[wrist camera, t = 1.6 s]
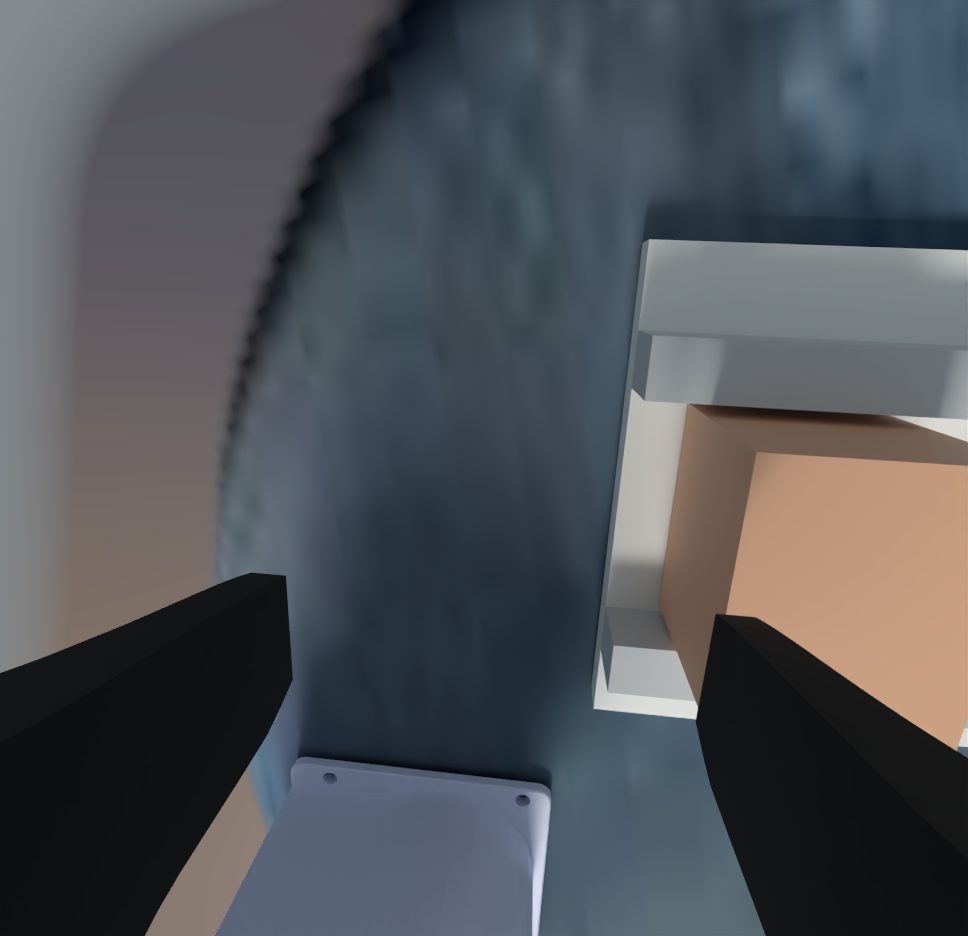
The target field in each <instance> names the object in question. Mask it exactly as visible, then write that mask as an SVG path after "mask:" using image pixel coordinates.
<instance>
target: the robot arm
mask: <svg viewBox="0 0 968 936" xmlns="http://www.w3.org/2000/svg"><path fill="white" fill-rule="evenodd" d="M292 680H293V676H292V661H291V646H290V631H289V616H288V601H287V586H286V576H283V575H271V574H260V573H249V574H245V575H242V576H239V577H236V578H233V579H231V580H228V581H225V582H223V583H220V584H218V585H216V586H213V587H211V588H208V589H206V590H204V591H201V592H199V593H197V594H194V595H192V596H190V597H188V598H185V599H183V600H181V601H178V602H176V603H174V604H172V605H169V606H167V607H165V608H162V609H160V610H158V611H155V612H153V613H151V614H149V615H146V616H144V617H142V618H140V619H137V620H135V621H133V622H130V623H128V624H125V625H123V626H121V627H118V628H116V629H113V630H111V631H108V632H106V633H103V634H101V635H98V636H96V637H93V638H91V639H88V640H86V641H83V642H81V643H78V644H76V645H74V646H71V647H69V648H66V649H64V650H61V651H59V652H56V653H54V654H51V655H49V656H46V657H43V658H41V659H38V660H35V661H33V662H30V663H27V664H24V665H22V666H19V667H16V668H13V669H10V670H8V671H5V672H2V673H0V936H145V934H146V932H147V930H148V928H149V927H150V925H151V923H152V921H153V919H154V917H155V915H156V913H157V911H158V909H159V908H160V906H161V904H162V903H163V901H164V899H165V898H166V896H167V894H168V892H169V891H170V889H171V887H172V886H173V884H174V882H175V881H176V879H177V877H178V875H179V873H180V872H181V871H182V869H183V867H184V866H185V864H186V863H187V861H188V860H189V858H190V856H191V855H192V853H193V852H194V850H195V849H196V847H197V845H198V844H199V842H200V841H201V839H202V838H203V836H204V834H205V833H206V831H207V830H208V828H209V827H210V825H211V823H212V822H213V820H214V819H215V817H216V816H217V814H218V812H219V811H220V809H221V808H222V806H223V805H224V803H225V801H226V800H227V798H228V797H229V795H230V794H231V792H232V790H233V789H234V787H235V786H236V784H237V783H238V781H239V779H240V778H241V776H242V775H243V773H244V771H245V770H246V768H247V767H248V765H249V763H250V762H251V760H252V759H253V757H254V755H255V754H256V752H257V751H258V749H259V747H260V746H261V744H262V742H263V741H264V739H265V738H266V736H267V734H268V732H269V730H270V728H271V726H272V724H273V722H274V720H275V718H276V715H277V713H278V711H279V709H280V707H281V705H282V703H283V700H284V698H285V696H286V694H287V691H288V689H289V687H290V685H291V682H292ZM696 725H697V730H698V734H699V739H700V743H701V748H702V752H703V757H704V761H705V765H706V769H707V773H708V777H709V781H710V785H711V788H712V791H713V794H714V796H715V799H716V802H717V805H718V808H719V810H720V813H721V816H722V819H723V821H724V824H725V827H726V830H727V832H728V835H729V838H730V841H731V843H732V846H733V849H734V851H735V854H736V857H737V860H738V862H739V865H740V868H741V870H742V873H743V876H744V878H745V881H746V884H747V886H748V889H749V892H750V895H751V897H752V900H753V903H754V905H755V908H756V911H757V913H758V916H759V919H760V921H761V924H762V927H763V930H764V932H765V935H766V936H968V758H967V757H965V756H964V755H962V754H960V753H959V752H957V751H956V750H954V749H953V748H951V747H949V746H948V745H946V744H945V743H943V742H941V741H940V740H938V739H937V738H935V737H934V736H932V735H930V734H929V733H927V732H926V731H924V730H923V729H921V728H919V727H918V726H916V725H915V724H913V723H912V722H910V721H909V720H907V719H906V718H904V717H903V716H901V715H900V714H898V713H897V712H895V711H894V710H892V709H891V708H889V707H888V706H886V705H885V704H883V703H882V702H880V701H879V700H877V699H876V698H874V697H873V696H871V695H870V694H868V693H867V692H865V691H864V690H863V689H861V688H860V687H858V686H857V685H855V684H854V683H853V682H851V681H850V680H848V679H847V678H845V677H844V676H842V675H841V674H840V673H838V672H837V671H835V670H834V669H833V668H831V667H830V666H828V665H827V664H825V663H824V662H823V661H821V660H820V659H818V658H817V657H815V656H814V655H813V654H811V653H810V652H808V651H807V650H806V649H804V648H803V647H801V646H800V645H798V644H797V643H796V642H794V641H793V640H791V639H790V638H788V637H787V636H785V635H784V634H782V633H781V632H779V631H778V630H776V629H775V628H773V627H772V626H770V625H769V624H767V623H765V622H764V621H762V620H760V619H758V618H756V617H748V616H737V615H726V614H715V620H714V625H713V630H712V636H711V641H710V647H709V652H708V657H707V663H706V668H705V674H704V679H703V684H702V690H701V695H700V701H699V706H698V711H697V717H696ZM330 773H333V774H334V775H335V776H334V775H331V774H330ZM291 783H292V787H291V789H290V791H289V792H288V794H287V796H286V798H285V800H284V802H283V804H282V806H281V808H280V810H279V812H278V814H277V816H276V818H275V820H274V822H273V824H272V826H271V828H270V830H269V832H268V833H267V835H266V837H265V839H264V841H263V843H262V845H261V847H260V849H259V851H258V853H257V855H256V857H255V859H254V861H253V863H252V865H251V867H250V869H249V871H248V872H247V874H246V876H245V879H244V880H243V882H242V884H241V886H240V888H239V890H238V892H237V894H236V896H235V898H234V900H233V902H232V904H231V906H230V908H229V910H228V911H227V913H226V916H225V917H224V919H223V921H222V923H221V925H220V927H219V929H218V931H217V933H216V935H215V936H538V933H539V923H540V913H541V902H542V892H543V882H544V872H545V862H546V851H547V841H548V831H549V821H550V811H551V792H550V790H549V789H548V787H546V786H545V785H543V784H539V783H532V782H523V781H514V780H505V779H497V778H488V777H479V776H470V775H461V774H453V773H444V772H435V771H426V770H418V769H409V768H400V767H391V766H382V765H374V764H365V763H356V762H347V761H338V760H330V759H321V758H312V757H301V758H299V759H297V760H296V761H295V763H294V765H293V767H292V769H291ZM519 795H525V796H527V797H520V796H519Z"/></svg>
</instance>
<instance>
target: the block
mask: <svg viewBox="0 0 968 936" xmlns="http://www.w3.org/2000/svg"><path fill="white" fill-rule="evenodd" d="M659 607H660V609H661V612H662V614H663V617H664V620H665V622H666V625H667V628H668V630H669V633H670V636H671V638H672V641H673V643H674V646H675V649H676V651H677V654H678V657H679V659H680V662H681V664H682V667H683V670H684V672H685V675H686V678H687V680H688V683H689V685H690V688H691V691H692V693H693V696H694V699H695V701H696V704H697V707H698V706H699V701H700V695H701V690H702V684H703V679H704V674H705V668H706V663H707V657H708V652H709V647H710V641H711V636H712V630H713V625H714V620H715V614H726V615H737V616H748V617H756V618H758V619H760V620H762V621H764V622H765V623H767V624H769V625H770V626H772V627H773V628H775V629H776V630H778V631H779V632H781V633H782V634H784V635H785V636H787V637H788V638H790V639H791V640H793V641H794V642H796V643H797V644H798V645H800V646H801V647H803V648H804V649H806V650H807V651H808V652H810V653H811V654H813V655H814V656H815V657H817V658H818V659H820V660H821V661H823V662H824V663H825V664H827V665H828V666H830V667H831V668H833V669H834V670H835V671H837V672H838V673H840V674H841V675H842V676H844V677H845V678H847V679H848V680H850V681H851V682H853V683H854V684H855V685H857V686H858V687H860V688H861V689H863V690H864V691H865V692H867V693H868V694H870V695H871V696H873V697H874V698H876V699H877V700H879V701H880V702H882V703H883V704H885V705H886V706H888V707H889V708H891V709H892V710H894V711H895V712H897V713H898V714H900V715H901V716H903V717H904V718H906V719H907V720H909V721H910V722H912V723H913V724H915V725H916V726H918V727H919V728H921V729H923V730H924V731H926V732H927V733H929V734H930V735H932V736H934V737H935V738H937V739H938V740H940V741H941V742H943V743H945V744H946V745H948V746H949V747H951V748H953V749H954V750H956V751H957V748H958V745H959V742H960V739H961V737H962V734H963V731H964V728H965V725H966V722H967V720H968V442H967V441H964V440H961V439H958V438H955V437H952V436H949V435H946V434H943V433H940V432H937V431H934V430H931V429H928V428H925V427H922V426H919V425H916V424H913V423H910V422H907V421H905V420H902V419H899V418H896V417H893V416H890V415H876V414H859V413H842V412H825V411H807V410H790V409H773V408H756V407H738V406H721V405H704V404H688V409H687V416H686V423H685V429H684V436H683V443H682V449H681V456H680V463H679V469H678V476H677V483H676V490H675V496H674V503H673V510H672V516H671V523H670V530H669V537H668V543H667V550H666V557H665V563H664V570H663V577H662V583H661V590H660V597H659Z"/></svg>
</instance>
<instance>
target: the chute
mask: <svg viewBox="0 0 968 936" xmlns="http://www.w3.org/2000/svg"><path fill="white" fill-rule="evenodd" d="M688 404H704V405H721V406H738V407H756V408H773V409H790V410H807V411H825V412H842V413H859V414H876V415H890V416H893V417H896V418H899V419H902V420H905V421H907V422H910V423H913V424H916V425H919V426H922V427H925V428H928V429H931V430H934V431H937V432H940V433H943V434H946V435H949V436H952V437H955V438H958V439H961V440H964V441H967V442H968V250H942V249H914V248H885V247H857V246H828V245H799V244H771V243H742V242H713V241H685V240H656V239H649V240H647V241H645V242H643V243H642V251H641V260H640V268H639V277H638V286H637V294H636V303H635V312H634V320H633V329H632V338H631V346H630V355H629V364H628V372H627V381H626V390H625V398H624V407H623V416H622V424H621V433H620V441H619V450H618V459H617V467H616V476H615V485H614V493H613V502H612V511H611V519H610V528H609V537H608V545H607V554H606V563H605V571H604V580H603V589H602V597H601V606H600V615H599V623H598V632H597V641H596V649H595V658H594V667H593V675H592V684H591V692H592V700H593V708H594V709H601V710H611V711H621V712H631V713H640V714H650V715H660V716H670V717H680V718H689V719H696V717H697V711H698V707H697V704H696V701H695V699H694V696H693V693H692V691H691V688H690V685H689V683H688V680H687V678H686V675H685V672H684V670H683V667H682V664H681V662H680V659H679V657H678V654H677V651H676V649H675V646H674V643H673V641H672V638H671V636H670V633H669V630H668V628H667V625H666V622H665V620H664V617H663V614H662V612H661V609H660V607H659V597H660V590H661V583H662V577H663V570H664V563H665V557H666V550H667V543H668V537H669V530H670V523H671V516H672V510H673V503H674V496H675V490H676V483H677V476H678V469H679V463H680V456H681V449H682V443H683V436H684V429H685V423H686V416H687V409H688ZM958 746H963V747H968V720H967V722H966V725H965V728H964V731H963V734H962V737H961V739H960V742H959V745H958Z"/></svg>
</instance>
